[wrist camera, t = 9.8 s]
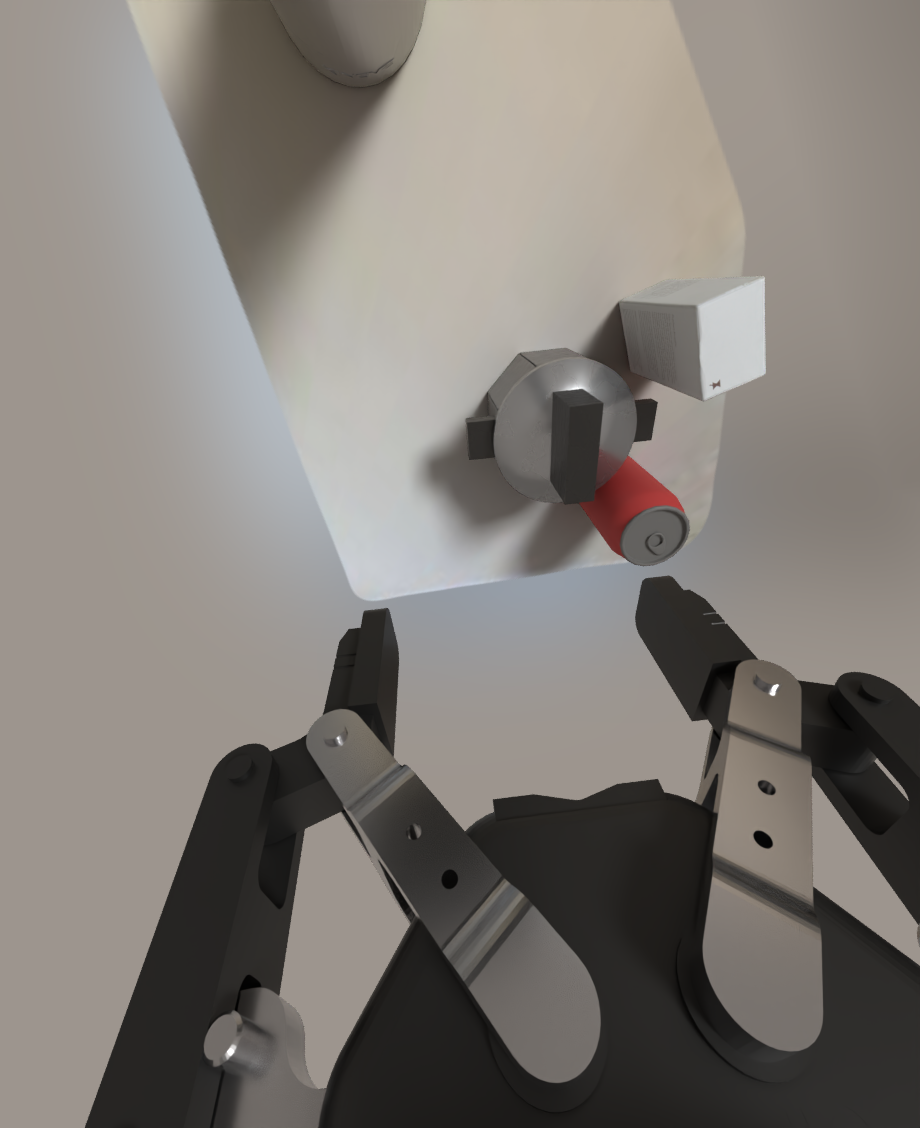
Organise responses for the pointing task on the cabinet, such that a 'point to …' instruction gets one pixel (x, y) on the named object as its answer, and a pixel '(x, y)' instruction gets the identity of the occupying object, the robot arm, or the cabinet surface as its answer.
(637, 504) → the beer can
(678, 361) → the skincare box
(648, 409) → the pot
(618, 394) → the lid
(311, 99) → the cabinet surface
